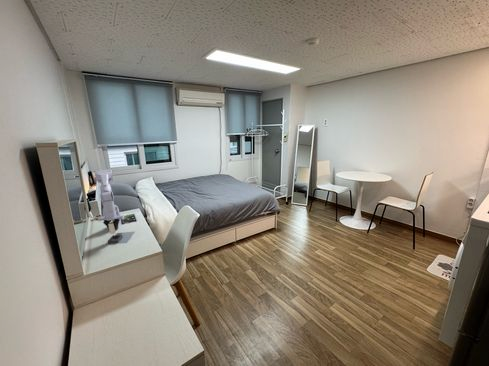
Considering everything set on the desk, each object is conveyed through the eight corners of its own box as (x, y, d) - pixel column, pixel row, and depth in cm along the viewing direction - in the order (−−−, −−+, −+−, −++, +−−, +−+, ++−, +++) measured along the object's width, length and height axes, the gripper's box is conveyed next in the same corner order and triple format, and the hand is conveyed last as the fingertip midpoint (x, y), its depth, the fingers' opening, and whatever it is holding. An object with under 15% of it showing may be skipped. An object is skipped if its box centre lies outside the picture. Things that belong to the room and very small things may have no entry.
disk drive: (137, 222, 165) (134, 216, 177) (136, 219, 164) (134, 213, 176) (122, 226, 160) (120, 219, 171) (121, 223, 159) (119, 216, 171)
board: (117, 234, 147) (116, 232, 146) (135, 232, 148) (134, 230, 148) (106, 246, 132) (106, 243, 132) (127, 244, 134) (126, 242, 134)
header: (113, 238, 140) (112, 235, 139) (122, 237, 141) (122, 234, 140) (108, 243, 133) (107, 240, 133) (118, 242, 134) (117, 240, 133)
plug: (113, 231, 137) (111, 220, 135) (117, 230, 137) (116, 220, 135) (110, 234, 133) (108, 223, 131) (115, 233, 134) (113, 223, 132)
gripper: (93, 213, 126) (98, 234, 130) (119, 212, 128) (123, 232, 132) (99, 209, 133) (103, 228, 137) (124, 207, 135) (127, 226, 139)
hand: (113, 230), depth 135 cm, fingers closed on plug, 3 cm apart
